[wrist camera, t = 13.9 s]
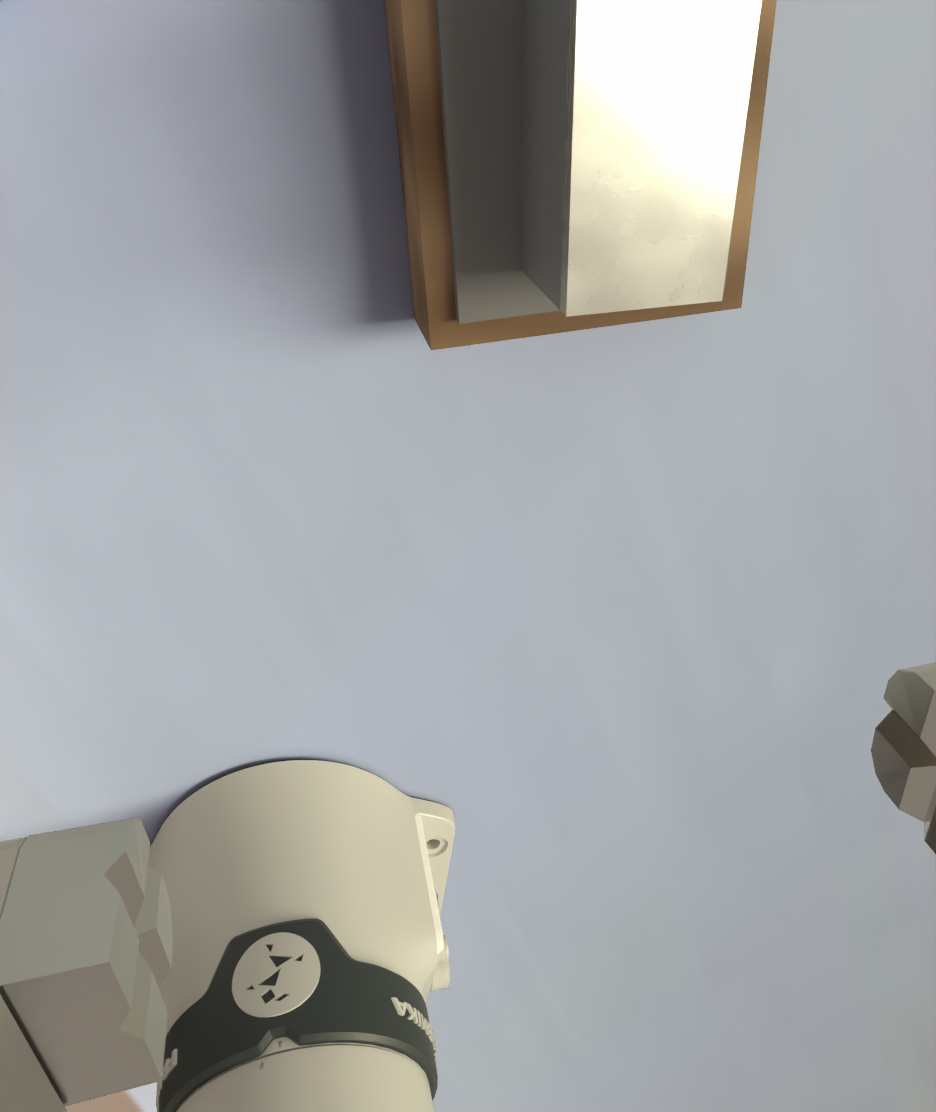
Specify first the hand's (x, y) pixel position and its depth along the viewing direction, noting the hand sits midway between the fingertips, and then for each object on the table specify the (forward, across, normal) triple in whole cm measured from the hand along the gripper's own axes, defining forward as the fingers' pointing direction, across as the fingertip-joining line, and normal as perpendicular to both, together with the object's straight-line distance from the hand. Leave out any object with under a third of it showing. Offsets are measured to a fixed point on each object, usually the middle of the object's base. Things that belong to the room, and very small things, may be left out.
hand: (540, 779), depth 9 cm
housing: (+23, -9, -4) cm, 25 cm away
